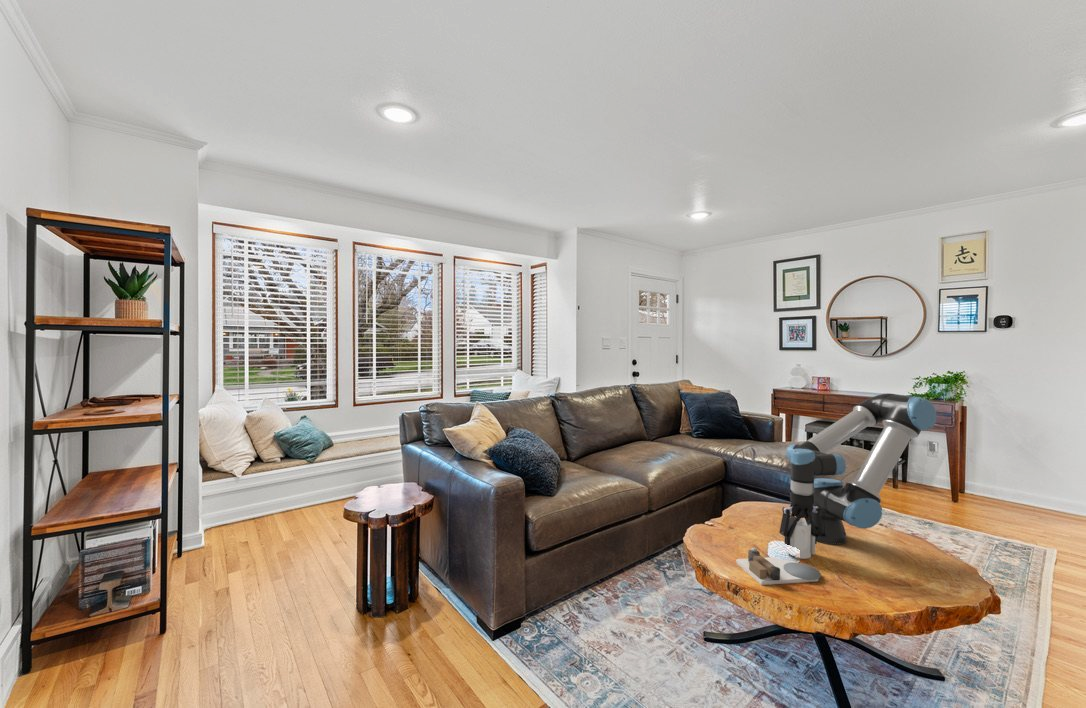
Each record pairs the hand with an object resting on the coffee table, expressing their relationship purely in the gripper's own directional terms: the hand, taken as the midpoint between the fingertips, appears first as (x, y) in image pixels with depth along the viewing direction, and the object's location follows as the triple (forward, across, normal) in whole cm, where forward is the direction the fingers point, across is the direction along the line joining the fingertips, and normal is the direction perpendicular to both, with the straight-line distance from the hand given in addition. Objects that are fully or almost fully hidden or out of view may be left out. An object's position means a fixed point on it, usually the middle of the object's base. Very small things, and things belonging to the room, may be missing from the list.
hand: (800, 553), depth 170 cm
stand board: (+1, +15, +10) cm, 18 cm away
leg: (-1, +22, +11) cm, 25 cm away
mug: (+1, 0, 0) cm, 1 cm away
